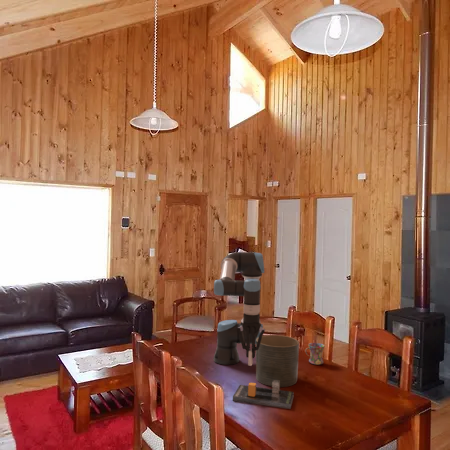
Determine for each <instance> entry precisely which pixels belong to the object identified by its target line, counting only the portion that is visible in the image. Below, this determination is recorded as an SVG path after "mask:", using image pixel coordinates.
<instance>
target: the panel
mask: <svg viewBox="0 0 450 450" xmlns="http://www.w3.org/2000/svg"><path fill="white" fill-rule="evenodd" d="M271 387H272V388H266V387H259V386H258V387H257V386H256V395H255V397H252V396H248V385H245V384H244V385H243V384H239V385H238V387H237V389H236V391H235V392H234V394H233V395H232V401H233V402H239V403H246V404H252V405H259V406H267V407H272V408H279V409H280V408H281V409H289V410H291V408H292V404H293V401H294V397H295V396H294V394H295V393H294V391H289V390H282V389H280V388H281V387H280V381H279V380H273V382H272V386H271Z"/></svg>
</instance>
